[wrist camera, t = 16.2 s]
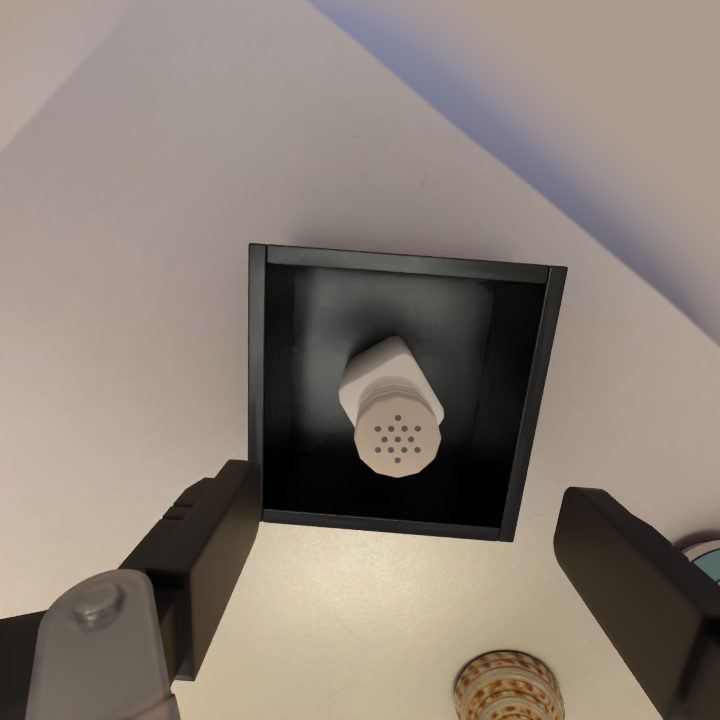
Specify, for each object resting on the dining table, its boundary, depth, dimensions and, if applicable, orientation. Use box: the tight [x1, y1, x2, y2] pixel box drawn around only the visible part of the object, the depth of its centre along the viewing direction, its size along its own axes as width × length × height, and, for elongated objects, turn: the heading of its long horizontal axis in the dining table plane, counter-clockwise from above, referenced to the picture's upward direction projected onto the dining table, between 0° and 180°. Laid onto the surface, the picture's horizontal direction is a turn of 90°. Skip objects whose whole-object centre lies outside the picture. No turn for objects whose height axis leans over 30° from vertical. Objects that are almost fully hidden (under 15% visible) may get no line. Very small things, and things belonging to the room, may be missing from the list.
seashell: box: [455, 652, 565, 720], centre depth 27 cm, size 8×6×8 cm
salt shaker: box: [338, 335, 444, 478], centre depth 18 cm, size 4×4×10 cm
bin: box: [248, 243, 568, 542], centre depth 19 cm, size 14×14×6 cm
